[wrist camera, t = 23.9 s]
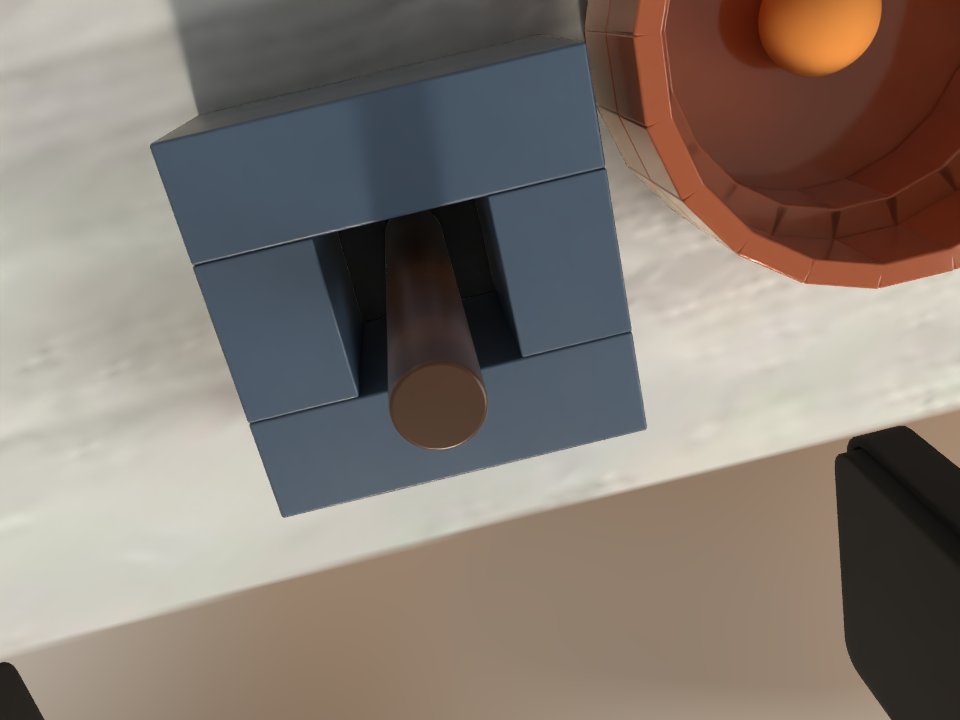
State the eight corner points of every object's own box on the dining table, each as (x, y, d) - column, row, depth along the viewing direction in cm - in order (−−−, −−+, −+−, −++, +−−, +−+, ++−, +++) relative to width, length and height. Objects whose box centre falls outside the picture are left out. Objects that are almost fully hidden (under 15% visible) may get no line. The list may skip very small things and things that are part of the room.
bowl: (544, -187, 24) (594, -246, 18) (1020, -297, 24) (1211, -389, 19) (619, 275, 29) (675, 338, 23) (1010, 181, 29) (1157, 222, 24)
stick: (380, 210, 27) (380, 369, 15) (438, 202, 28) (482, 354, 16) (390, 266, 28) (397, 459, 16) (445, 258, 28) (494, 443, 16)
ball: (756, 62, 24) (793, -68, 23) (734, 65, 27) (766, -49, 26) (875, 87, 23) (917, -43, 22) (839, 87, 26) (875, -27, 25)
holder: (197, 114, 26) (147, 144, 20) (542, 33, 26) (586, 41, 20) (300, 424, 30) (282, 519, 24) (598, 352, 30) (648, 430, 24)
